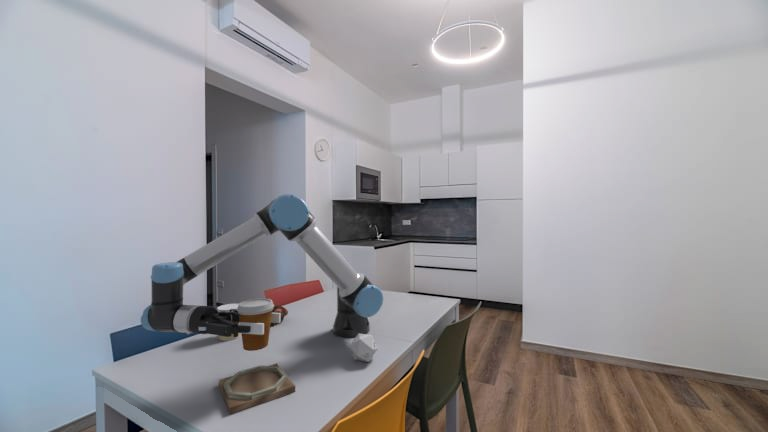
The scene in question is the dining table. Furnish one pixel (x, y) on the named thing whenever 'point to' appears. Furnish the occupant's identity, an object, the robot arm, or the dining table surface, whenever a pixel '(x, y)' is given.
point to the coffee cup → (227, 309)
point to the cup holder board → (255, 387)
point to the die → (363, 347)
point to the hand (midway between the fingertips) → (272, 323)
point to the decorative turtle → (279, 310)
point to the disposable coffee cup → (256, 321)
